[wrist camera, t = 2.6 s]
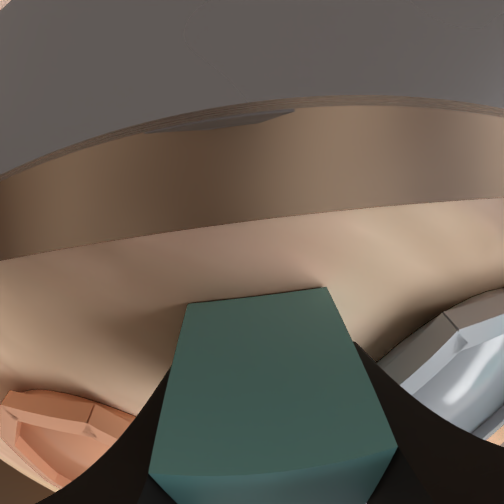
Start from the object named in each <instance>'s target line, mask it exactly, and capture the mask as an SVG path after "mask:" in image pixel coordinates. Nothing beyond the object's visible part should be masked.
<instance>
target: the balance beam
mask: <svg viewBox="0 0 504 504" xmlns="http://www.w3.org/2000/svg"><path fill="white" fill-rule="evenodd" d="M327 106H401V107H419V108H433V109H444V110H453V111H462V112H470V113H477V114H484V115H490V116H496V117H501V118H504V0H11V1H10V2H9V3H8V4H7V5H6V6H5V7H4V8H3V9H2V10H0V181H2V180H4V179H7V178H9V177H11V176H14V175H16V174H18V173H21V172H23V171H26V170H28V169H30V168H33V167H36V166H38V165H41V164H43V163H46V162H49V161H51V160H54V159H57V158H60V157H62V156H65V155H68V154H71V153H74V152H77V151H80V150H83V149H86V148H90V147H93V146H96V145H99V144H103V143H106V142H110V141H113V140H117V139H120V138H124V137H128V136H132V135H136V134H140V133H144V132H148V131H152V130H156V129H161V128H165V127H170V126H175V125H180V124H185V123H190V122H195V121H200V120H206V119H212V118H218V117H225V116H231V115H238V114H246V113H254V112H262V111H272V110H282V109H294V108H308V107H327Z"/></svg>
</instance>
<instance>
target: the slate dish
mask: <svg viewBox="0 0 504 504" xmlns="http://www.w3.org/2000/svg"><path fill="white" fill-rule="evenodd" d="M377 364H378V365H379V366H380V367H381V368H382V369H383V370H384V371H385V372H386V373H387V374H388V375H389V376H390V377H391V378H392V379H393V380H395V381H396V382H397V383H398V384H399V385H400V386H401V387H402V388H404V389H405V390H406V391H407V392H408V393H409V394H411V395H412V396H413V397H414V398H416V399H417V400H418V401H419V402H421V403H422V404H423V405H425V406H426V407H427V408H429V409H430V410H432V411H433V412H435V413H436V414H438V415H439V416H441V417H442V418H444V419H445V420H447V421H449V422H450V423H452V424H454V425H455V426H457V427H459V428H461V429H463V430H465V431H467V432H469V433H471V434H473V435H475V436H477V437H479V438H481V439H483V440H487V439H488V438H489V437H490V436H491V435H492V434H494V433H495V432H496V431H497V430H498V429H499V428H500V427H502V426H503V425H504V288H501V289H496V290H492V291H487V292H485V293H482V294H479V295H476V296H474V297H471V298H469V299H467V300H465V301H463V302H461V303H459V304H457V305H455V306H454V307H452V308H450V309H449V310H447V311H444V312H443V313H441V314H440V315H439V316H437V317H435V318H434V319H433V320H431V321H430V322H428V323H427V324H425V325H424V326H422V327H421V328H419V329H418V330H417V331H415V332H414V333H413V334H411V335H410V336H409V337H408V338H406V339H405V340H404V341H402V342H401V343H400V344H398V345H397V346H396V347H395V348H394V349H393V350H391V351H390V352H389V353H388V354H387V355H385V356H384V357H383V358H382V359H381V360H380V361H379V362H378V363H377Z"/></svg>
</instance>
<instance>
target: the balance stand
mask: <svg viewBox="0 0 504 504" xmlns="http://www.w3.org/2000/svg"><path fill="white" fill-rule="evenodd" d="M490 198H504V118H501V117H496V116H490V115H484V114H477V113H470V112H462V111H453V110H444V109H433V108H419V107H401V106H327V107H308V108H294V109H282V110H272V111H262V112H254V113H246V114H238V115H231V116H225V117H218V118H212V119H206V120H200V121H195V122H190V123H185V124H180V125H175V126H170V127H165V128H161V129H156V130H152V131H148V132H144V133H140V134H136V135H132V136H128V137H124V138H120V139H117V140H113V141H110V142H106V143H103V144H99V145H96V146H93V147H90V148H86V149H83V150H80V151H77V152H74V153H71V154H68V155H65V156H62V157H60V158H57V159H54V160H51V161H49V162H46V163H43V164H41V165H38V166H36V167H33V168H30V169H28V170H26V171H23V172H21V173H18V174H16V175H14V176H11V177H9V178H7V179H4V180H2V181H0V261H2V260H7V259H12V258H17V257H22V256H27V255H33V254H38V253H44V252H49V251H55V250H60V249H66V248H72V247H77V246H83V245H89V244H95V243H101V242H107V241H113V240H120V239H126V238H132V237H139V236H145V235H152V234H159V233H165V232H172V231H179V230H186V229H193V228H201V227H208V226H215V225H223V224H230V223H238V222H246V221H254V220H262V219H270V218H279V217H287V216H296V215H305V214H314V213H323V212H332V211H342V210H352V209H362V208H373V207H383V206H395V205H406V204H418V203H431V202H444V201H458V200H474V199H490Z"/></svg>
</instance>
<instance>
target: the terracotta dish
mask: <svg viewBox="0 0 504 504" xmlns="http://www.w3.org/2000/svg"><path fill="white" fill-rule="evenodd" d="M135 418H136V417H135V416H133V415H130V414H128V413H125V412H123V411H120V410H118V409H115V408H112V407H109V406H106V405H104V404H101V403H98V402H95V401H91V400H88V399H85V398H82V397H78V396H74V395H70V394H67V393H61V392H56V391H50V390H29V391H25V392H22V393H20V392H15V391H11V390H10V391H9V392H8V393H7V395H6V397H5V398H4V400H3V401H2V403H1V405H0V435H1V439H2V440H3V441H4V442H5V443H6V444H7V445H8V446H9V447H10V448H11V449H12V450H13V451H14V452H15V453H16V454H17V455H18V456H19V457H20V458H21V459H22V460H23V461H24V462H26V463H27V464H28V465H29V466H30V467H31V468H32V469H33V470H34V471H35V472H37V473H38V474H39V475H40V476H41V477H42V478H44V479H45V480H46V481H47V482H49V483H51V484H52V485H54V486H56V487H58V488H60V489H62V488H63V487H64V486H66V485H67V484H69V483H70V482H72V481H73V480H74V479H76V478H77V477H78V476H80V475H81V474H82V473H83V472H85V471H86V470H87V469H88V468H89V467H90V466H91V465H93V464H94V463H95V462H96V461H97V460H98V459H99V458H100V457H101V456H102V455H103V454H104V453H105V452H106V451H107V450H108V449H109V448H110V447H111V446H112V445H113V444H114V443H115V442H116V441H117V440H118V439H119V437H120V436H121V435H122V434H123V433H124V431H125V430H126V429H127V428H128V426H129V425H130V424H131V423H132V421H133V420H134V419H135Z"/></svg>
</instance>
